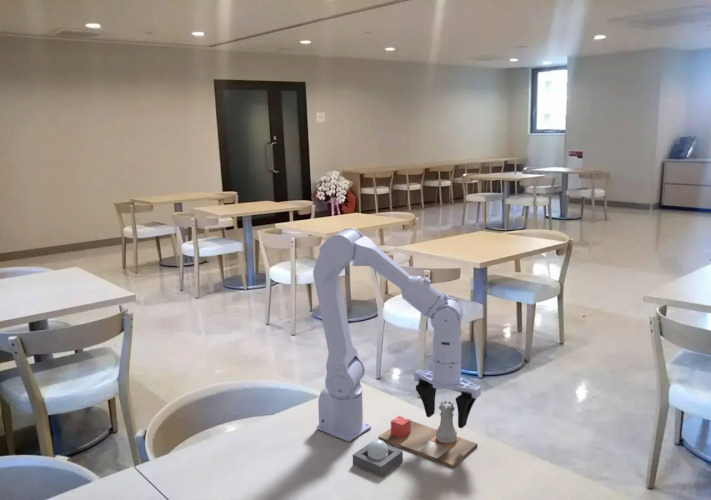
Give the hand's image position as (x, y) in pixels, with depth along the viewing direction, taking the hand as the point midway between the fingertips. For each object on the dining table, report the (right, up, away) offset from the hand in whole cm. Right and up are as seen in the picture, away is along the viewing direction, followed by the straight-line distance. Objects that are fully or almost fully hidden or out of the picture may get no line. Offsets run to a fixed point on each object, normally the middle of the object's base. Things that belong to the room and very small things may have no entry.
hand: (446, 420), depth 122 cm
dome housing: (-14, -7, -6) cm, 17 cm away
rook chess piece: (0, -4, +1) cm, 4 cm away
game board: (-4, -5, +1) cm, 6 cm away
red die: (-9, -4, +4) cm, 11 cm away
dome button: (-14, -7, -6) cm, 17 cm away
